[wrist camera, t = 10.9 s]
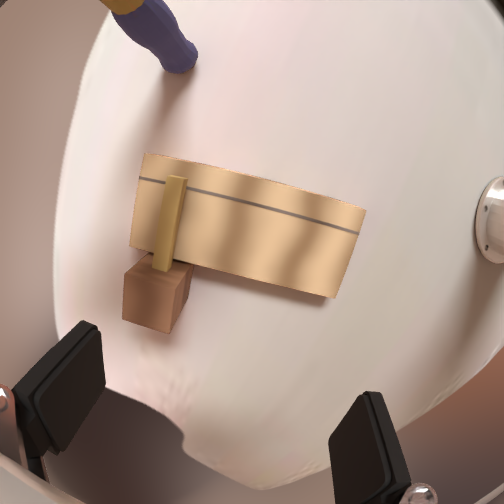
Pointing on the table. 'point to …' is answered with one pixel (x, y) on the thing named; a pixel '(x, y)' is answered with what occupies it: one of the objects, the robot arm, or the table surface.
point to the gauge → (160, 270)
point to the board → (250, 225)
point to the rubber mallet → (154, 31)
